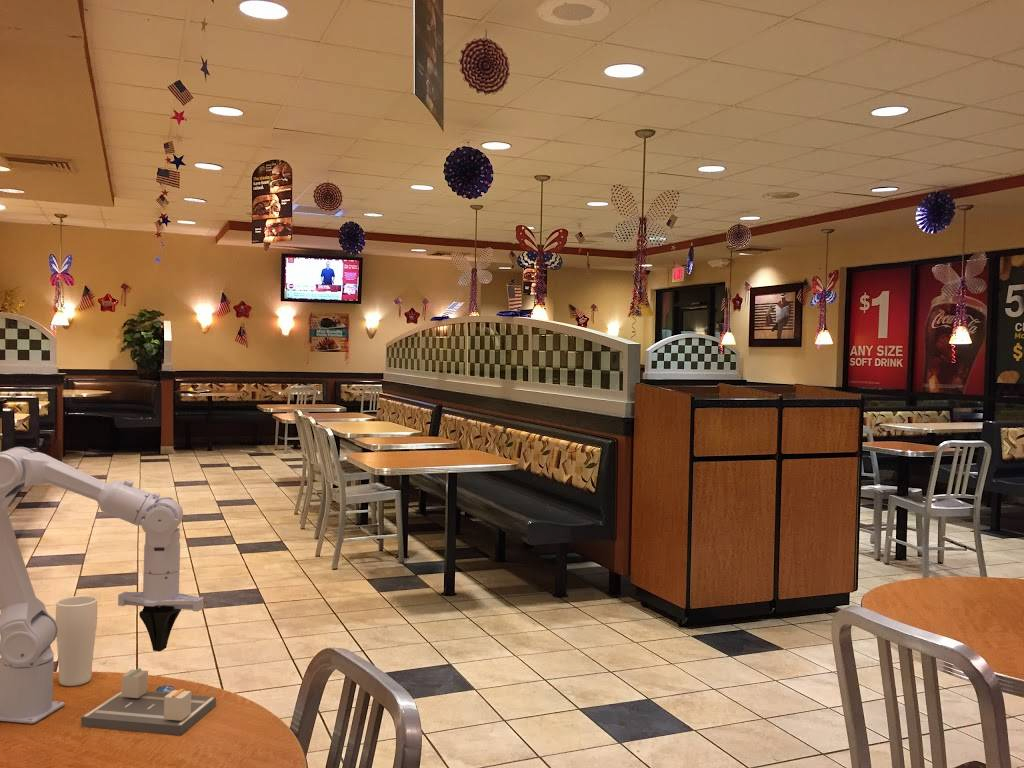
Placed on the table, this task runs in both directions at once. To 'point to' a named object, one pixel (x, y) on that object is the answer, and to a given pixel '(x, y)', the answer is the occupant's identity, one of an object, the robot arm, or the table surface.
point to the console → (145, 714)
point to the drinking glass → (76, 638)
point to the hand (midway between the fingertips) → (159, 649)
